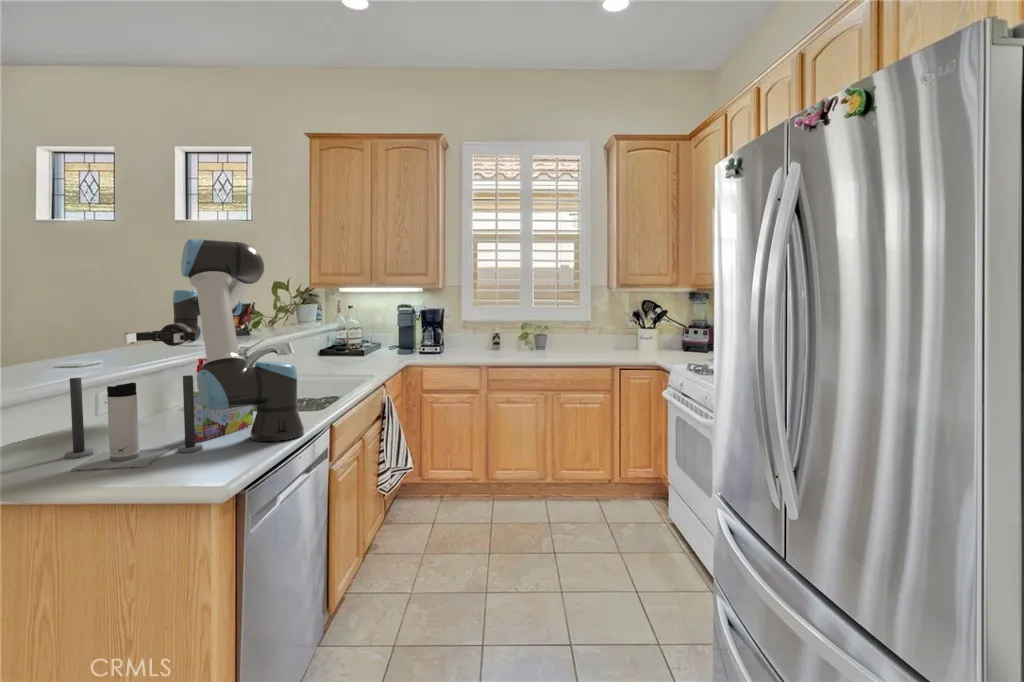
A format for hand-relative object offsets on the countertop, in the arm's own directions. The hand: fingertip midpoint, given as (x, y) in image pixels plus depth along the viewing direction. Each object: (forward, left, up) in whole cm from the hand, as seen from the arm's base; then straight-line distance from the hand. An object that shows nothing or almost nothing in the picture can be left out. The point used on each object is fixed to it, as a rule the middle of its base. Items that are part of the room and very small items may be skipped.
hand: (150, 338), depth 166 cm
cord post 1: (0, +24, -30) cm, 38 cm away
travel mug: (-16, +25, -30) cm, 42 cm away
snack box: (-20, -7, -30) cm, 37 cm away
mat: (-16, +25, -30) cm, 42 cm away
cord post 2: (-25, +13, -30) cm, 41 cm away
